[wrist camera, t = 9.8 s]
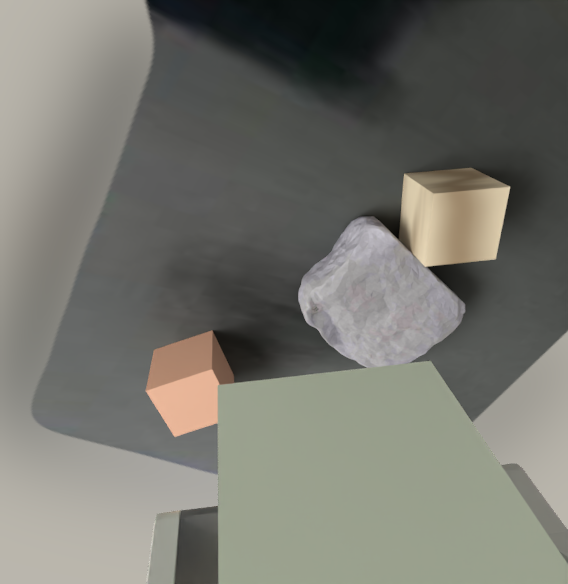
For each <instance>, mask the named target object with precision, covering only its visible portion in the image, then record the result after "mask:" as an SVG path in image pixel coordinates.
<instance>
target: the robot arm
mask: <svg viewBox="0 0 568 584" xmlns="http://www.w3.org/2000/svg"><path fill="white" fill-rule="evenodd" d="M501 466H502V467H503V469H504V470H505V472H506V473H507V475H508V476H509V478H510V479H511V481H512V482H513V484H514V485H515V487H516V488H517V490H518V491H519V493H520V494H521V496H522V497H523V499H524V500H525V501H526V503H527V504H528V506H529V507H530V509H531V510H532V512H533V513H534V515H535V516H536V518H537V519H538V521H539V522H540V524H541V525H542V527H543V528H544V530H545V531H546V533H547V534H548V535H549V537H550V538H551V540H552V541H553V543H554V544H555V546H556V547H557V549H558V550H559V552H560V553H561V555H562V556H563V558H564V559H565V561H566V562H567V564H568V530H567V528H566V527H565V526H564V524H563V523H562V522H561V520H560V519H559V518H558V516H557V515H556V513H555V512H554V511H553V509H552V508H551V507H550V505H549V504H548V503H547V501H546V500H545V499H544V497H543V496H542V494H541V493H540V492H539V490H538V489H537V488H536V486H535V485H534V484H533V482H532V481H531V479H530V478H529V477H528V475H527V474H526V473H525V471H524V470H523V468H521V467H520V466H519V465H518V464H506V465H501ZM146 584H218V506H214V507H206V508H198V509H191V510H182V511H173V512H167V513H159V514H157V516H156V519H155V522H154V527H153V535H152V542H151V550H150V558H149V565H148V573H147V582H146Z"/></svg>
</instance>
